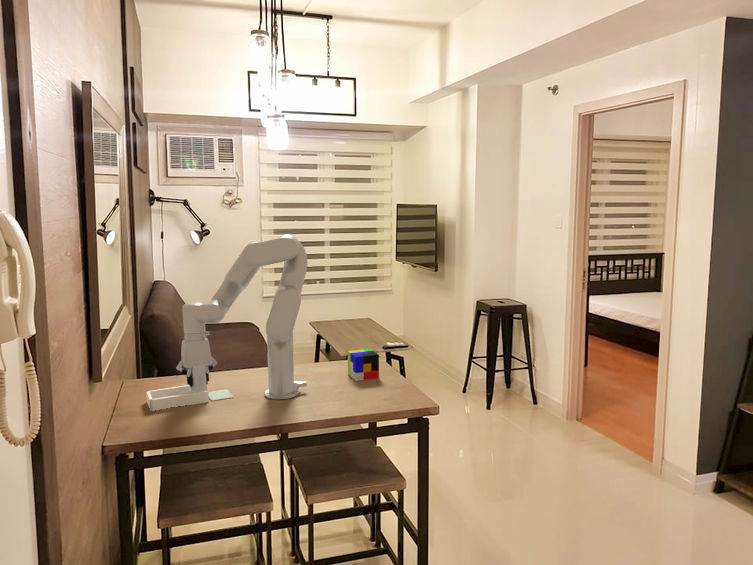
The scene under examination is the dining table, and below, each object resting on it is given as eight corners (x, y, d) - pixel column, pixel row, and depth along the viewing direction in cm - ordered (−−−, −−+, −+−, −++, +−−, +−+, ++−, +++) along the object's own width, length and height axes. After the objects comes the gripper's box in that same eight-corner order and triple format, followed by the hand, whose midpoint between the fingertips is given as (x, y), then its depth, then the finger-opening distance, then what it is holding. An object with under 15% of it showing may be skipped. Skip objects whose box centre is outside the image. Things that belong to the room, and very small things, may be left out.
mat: (227, 389, 228) (227, 389, 228) (233, 397, 219) (233, 396, 219) (205, 393, 224) (205, 392, 224) (211, 401, 215) (211, 400, 215)
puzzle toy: (355, 381, 238) (355, 357, 236) (348, 374, 247) (347, 351, 246) (379, 378, 241) (378, 354, 240) (370, 371, 251) (370, 348, 249)
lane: (203, 393, 224) (202, 383, 224) (209, 401, 215) (208, 391, 214) (146, 401, 215) (146, 391, 215) (150, 411, 206) (149, 400, 205)
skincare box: (208, 395, 217) (206, 363, 215) (196, 398, 214) (194, 365, 212) (201, 391, 222) (199, 359, 220) (189, 393, 219) (187, 362, 217)
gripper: (216, 331, 222) (219, 378, 225) (169, 337, 214) (172, 385, 217) (221, 335, 215) (223, 383, 218) (172, 341, 208) (175, 391, 210)
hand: (198, 384), depth 217 cm, fingers closed on skincare box, 4 cm apart
